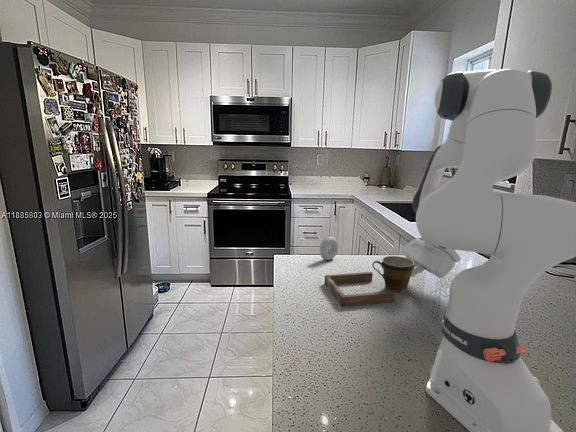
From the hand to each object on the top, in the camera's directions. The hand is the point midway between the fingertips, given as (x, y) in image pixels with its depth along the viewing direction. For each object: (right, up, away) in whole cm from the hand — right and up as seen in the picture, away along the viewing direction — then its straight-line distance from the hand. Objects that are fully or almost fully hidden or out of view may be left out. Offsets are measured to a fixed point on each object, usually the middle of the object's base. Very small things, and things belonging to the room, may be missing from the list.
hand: (408, 274), depth 106 cm
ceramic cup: (-6, -5, 0) cm, 8 cm away
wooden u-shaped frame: (-17, -5, -2) cm, 18 cm away
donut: (-23, +1, +26) cm, 35 cm away
